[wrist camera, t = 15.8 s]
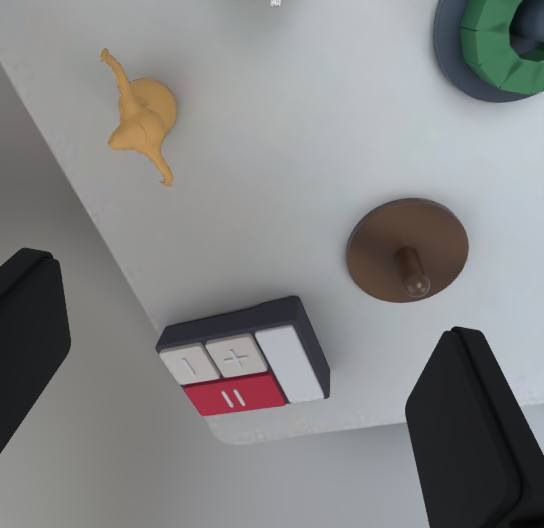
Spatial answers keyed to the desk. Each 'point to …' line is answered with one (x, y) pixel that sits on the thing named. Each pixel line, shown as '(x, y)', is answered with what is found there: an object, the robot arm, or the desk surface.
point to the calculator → (247, 359)
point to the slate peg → (447, 41)
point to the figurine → (143, 116)
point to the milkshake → (275, 3)
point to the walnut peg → (407, 250)
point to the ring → (499, 48)
